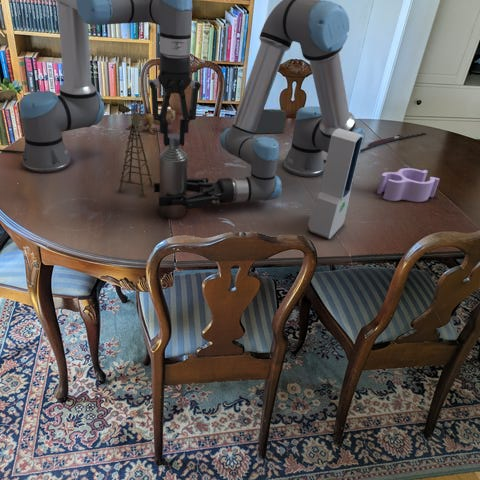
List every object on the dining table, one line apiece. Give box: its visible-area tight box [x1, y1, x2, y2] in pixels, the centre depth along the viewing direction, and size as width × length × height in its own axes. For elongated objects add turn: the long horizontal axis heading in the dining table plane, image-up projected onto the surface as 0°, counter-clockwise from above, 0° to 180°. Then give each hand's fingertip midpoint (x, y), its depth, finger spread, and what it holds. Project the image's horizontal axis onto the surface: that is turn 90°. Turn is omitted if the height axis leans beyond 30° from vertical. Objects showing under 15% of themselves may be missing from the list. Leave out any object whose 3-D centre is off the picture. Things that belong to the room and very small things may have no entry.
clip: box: [376, 167, 440, 203], centre depth 164 cm, size 20×12×7 cm, turn 109°
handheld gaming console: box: [234, 108, 287, 134], centre depth 202 cm, size 23×3×10 cm, turn 108°
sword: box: [368, 134, 409, 147], centre depth 212 cm, size 31×3×1 cm, turn 126°
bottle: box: [158, 145, 189, 219], centre depth 134 cm, size 8×8×23 cm
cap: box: [168, 133, 181, 147], centre depth 128 cm, size 4×4×2 cm
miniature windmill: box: [118, 95, 154, 197], centre depth 142 cm, size 9×8×30 cm
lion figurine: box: [142, 109, 176, 134], centre depth 192 cm, size 15×5×9 cm, turn 110°
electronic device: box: [307, 128, 364, 240], centre depth 132 cm, size 12×8×30 cm, turn 148°
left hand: (173, 143), depth 129 cm, fingers closed on cap, 4 cm apart
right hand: (156, 194), depth 135 cm, fingers closed on bottle, 8 cm apart
